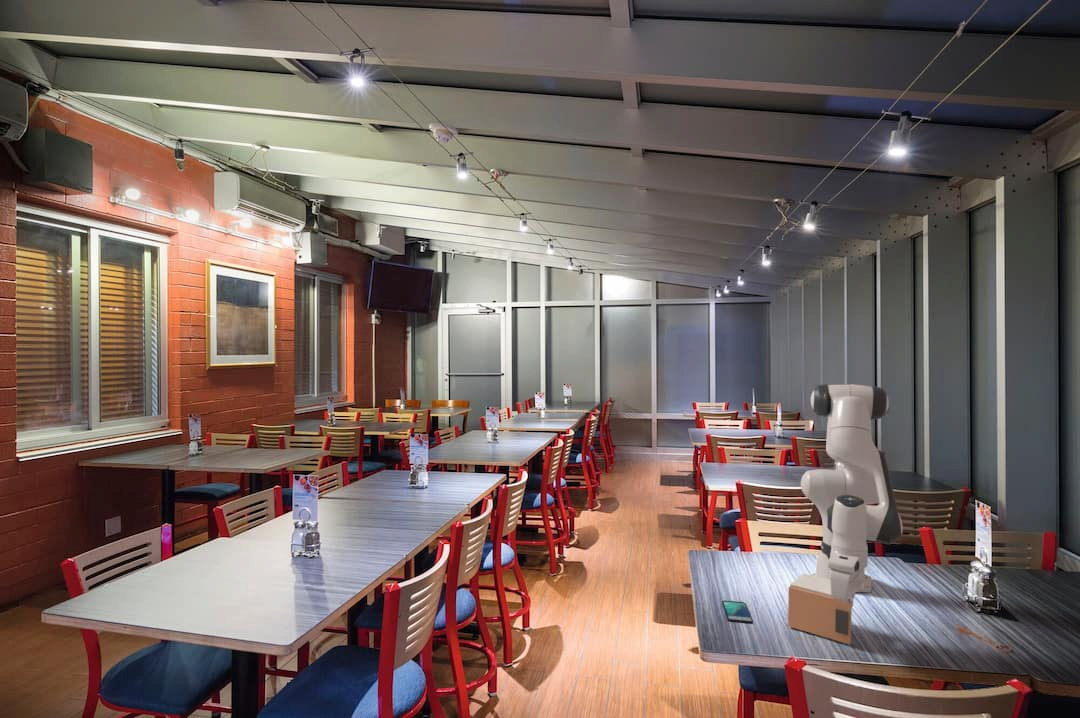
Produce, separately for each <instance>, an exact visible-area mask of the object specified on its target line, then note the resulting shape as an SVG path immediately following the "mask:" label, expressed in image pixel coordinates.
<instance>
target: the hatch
mask: <svg viewBox="0 0 1080 718" xmlns="http://www.w3.org/2000/svg"><path fill="white" fill-rule="evenodd" d="M852 608H853V607H852V602H849V601H846V602H843V601H839V600H835V599H833V598H832V597H830V596H826V595H822V594H818V593H814V592H810V591H806V590H802V589H799V588H795V587H791V586H790V585H789V587H788V609H787V611H788V613H787V615H788V616H787V617H788V618H787V626H788V627H790V628H794V629H797V630H800V631H802V632H808V633H810V634H814V635H817V636H820V637H824V638H827V639H830V640H834V641H837V642H840V643H844V644H847V645H851V643H852V612H853V611H852Z"/></svg>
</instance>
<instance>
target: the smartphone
mask: <svg viewBox="0 0 1080 718" xmlns="http://www.w3.org/2000/svg"><path fill="white" fill-rule="evenodd" d="M721 603H722V606H723V610H724V613H725V617H726V620H727V622H730V623H737V624H748V625H753V624H754V621H753V619H752V617H751V616H752V615H751V613H750V610H749V609H748V606H747V603H746V602H745V601H735V600H734V601H733V600H722V601H721Z"/></svg>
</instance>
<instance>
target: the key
mask: <svg viewBox="0 0 1080 718" xmlns="http://www.w3.org/2000/svg"><path fill="white" fill-rule="evenodd" d="M953 629H954V631H957V633H958V632H959V633H960V634H962V635H972V636H974V637H976V638H977V639H980V640H982V641H984V642H986V643H988V644H990V645H992V646H994V649H995V650H996V651H998V652H1002V653H1010V652H1012V649H1011V647H1009V646H1007V645H999V644H997V643H996V642H993V641H991V640H990V639H987V638H985V637H983V636H982V635H979V634H977V633H976V632H973V631H971V630H968V629H967V628H965V627H963V626H962V625H958V626H957V627H954V628H953ZM1003 649H1004V650H1003Z"/></svg>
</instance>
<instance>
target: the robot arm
mask: <svg viewBox="0 0 1080 718" xmlns="http://www.w3.org/2000/svg"><path fill="white" fill-rule="evenodd" d="M889 401H890V399H889V397H888V394H887V392H886V390H885V389H884V388H883V387H881V386H880V387H878V386H875V385H872V386H870V385H864V384H855V383H852V384H851V383H850V384H826V383H825V384H818V385H816V386H815V387H814V389H813V391H812V393H811V395H810V406H811V409H812V411H813V412H814V414H816V415H817V416H820V417H823V418H828V419H827V423H826V426H827V427H826V441H825V442H826V443H825V451H826V453H827V456H828V457H829V458H831V459H832V460H834V461H836V462H838V463H839V464H842V465H844V469H841V470H840V469H825V468H823V469H822V468H818V469H810V470H806V471H805V472H804V474H802V476H801V479H800V488H801V492H802V493H803V494H804V496H805V497H806V498H807V499H808V500H810V501H811V502H812V503H813V505H815V506H816V508H817V510H818V512H819V514H820V516H821V521H822V540H821V544H820V547H821V548H820V551H821V552H820V553H819V554H818V555H817V556H816V562H815V571H814V573H813V574H811V575H813V576H817V577H821V578H825V579H829V580H830V587H831V595H832V598H833V599H835V600H839V601H843V602H846V601H849V602H852V608H853V606H854V599H855V596H856V593H872V586H873V585H872V584H873V583H872V581H873V580H872V577H871V575H868V574H866V573H865V571H866V570H865V569H866V568H867V567H868V561H869V560H868V558H869V557H868V556H869V555H868V551H869V550H868V549H869V548H868V543H867V541H871V542H877V543H879V544H885V545H892V544H893V543H895V542H897V541H899V540H900V539H901V538H902V534H903V530H904V529H903V528H904V527H903V522H902V518H901V516H900V513H899V510H898V506H897V502H896V496H895V491H894V487H893V483H892V479H891V474H890V469H889V466H888V461H887V458H886V455H885V453H884V452H883V451H882V450H880V449H878V448H877V447H876V445H875V443H874V441H873V438H872V422H871V421H873V420H880V419H882V418H884V417H885V416H886V414H887V412H888V409H889V407H890V406H889V404H890V402H889ZM874 504H878V505H874Z"/></svg>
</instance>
